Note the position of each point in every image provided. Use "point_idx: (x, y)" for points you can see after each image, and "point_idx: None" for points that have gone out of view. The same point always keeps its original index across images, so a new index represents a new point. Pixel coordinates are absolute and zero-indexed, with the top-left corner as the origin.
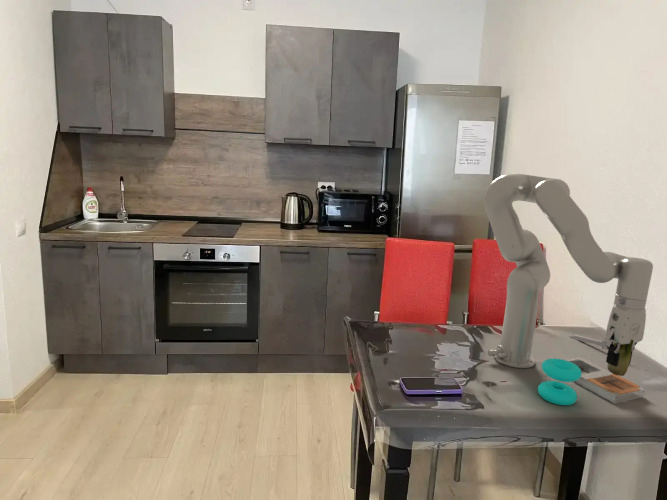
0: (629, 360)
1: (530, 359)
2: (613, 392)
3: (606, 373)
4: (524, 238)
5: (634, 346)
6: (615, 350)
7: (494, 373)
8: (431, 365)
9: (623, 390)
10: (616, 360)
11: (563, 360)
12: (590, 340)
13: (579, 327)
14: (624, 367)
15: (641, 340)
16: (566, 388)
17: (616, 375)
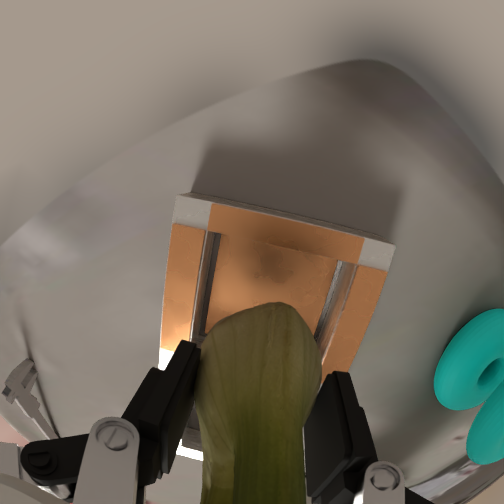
0: (286, 359)
1: (306, 488)
2: (373, 267)
3: None
4: None
5: (88, 447)
6: (399, 486)
7: (433, 462)
8: (463, 481)
9: (313, 247)
10: (356, 407)
11: (495, 450)
12: (46, 430)
13: (25, 436)
14: (304, 334)
15: (1, 482)
16: (495, 358)
17: (169, 337)
